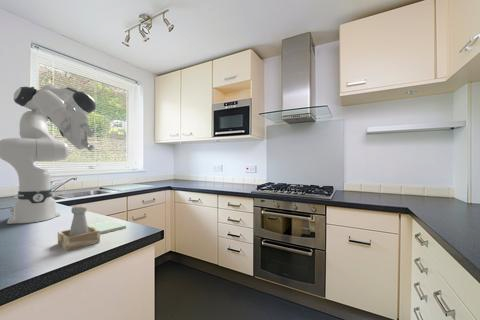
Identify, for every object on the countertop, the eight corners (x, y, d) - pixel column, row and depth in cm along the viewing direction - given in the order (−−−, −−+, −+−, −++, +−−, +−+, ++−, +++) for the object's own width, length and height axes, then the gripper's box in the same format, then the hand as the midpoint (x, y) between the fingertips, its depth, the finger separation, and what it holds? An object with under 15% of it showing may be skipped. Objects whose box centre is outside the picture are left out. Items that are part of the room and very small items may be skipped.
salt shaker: (64, 244, 74) (64, 206, 74) (81, 238, 80) (81, 203, 80) (76, 247, 72) (76, 208, 72) (92, 241, 78) (93, 205, 78)
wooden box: (57, 243, 75) (57, 232, 75) (89, 236, 83) (89, 225, 83) (66, 250, 69) (66, 238, 69) (99, 241, 77) (99, 230, 77)
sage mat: (81, 228, 92) (81, 226, 92) (111, 221, 101) (111, 219, 101) (94, 235, 83) (94, 233, 83) (126, 227, 93) (126, 225, 93)
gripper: (74, 99, 85) (100, 123, 85) (76, 132, 99) (98, 152, 99) (57, 104, 81) (84, 129, 80) (61, 138, 95) (84, 159, 94)
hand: (92, 142), depth 90 cm, fingers open, 8 cm apart
